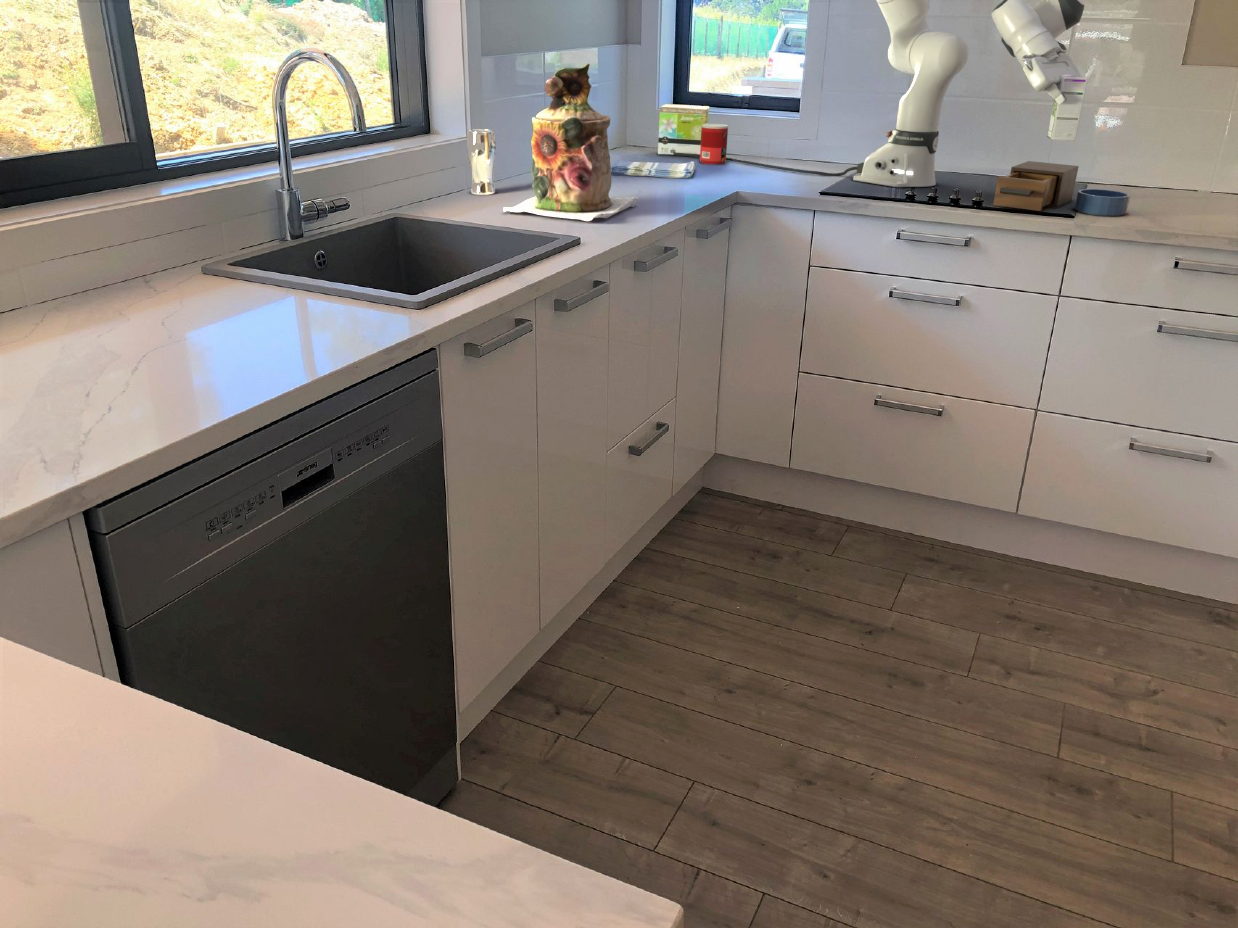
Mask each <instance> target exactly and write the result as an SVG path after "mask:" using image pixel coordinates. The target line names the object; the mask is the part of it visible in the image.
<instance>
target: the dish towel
mask: <svg viewBox="0 0 1238 928" xmlns="http://www.w3.org/2000/svg"><path fill="white" fill-rule="evenodd" d="M695 169H696V162H694V161H689V162H682V163H681V162H680V163H678V162H677V163H674V162H648V161H626V160H617V161H616V162H615V163H614V164H613V165H612V166H611V176H612V175H613V176H636V177H654V178H655V177H656V178H664V179H666V178H667V179H668V178H672V179H675V178H676V179H679V178H680V179H681V178H684V179H691V178H692V176H693V174H694V171H695Z"/></svg>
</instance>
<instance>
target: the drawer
mask: <svg viewBox="0 0 1238 928" xmlns="http://www.w3.org/2000/svg"><path fill="white" fill-rule="evenodd" d="M1057 181H1058V176H1054V175H1045V174H1035V173H1026V172H1015V173H1013V174H1010V173H1009V174H1008V175H1005V176H1003V175H999V176H997V181H996V186H995V192H994V197H993V199H994V200H993V203H992V205H993V206H997V207H1005V208H1014V209H1020V210H1022V209H1023V210H1029V211H1037V212H1042V211H1043V208H1044V206H1046V205H1048V204H1050V203H1052V202H1053V201H1054V196H1055V191H1056V186H1057Z"/></svg>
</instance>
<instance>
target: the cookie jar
mask: <svg viewBox="0 0 1238 928" xmlns="http://www.w3.org/2000/svg"><path fill="white" fill-rule="evenodd" d="M590 65H591V64H590V63H585V64H583V66H581V67H561V68H560V69H558V70H556V71H555V72H554V74H553V76H552V77H551V78H549V79H547V80H546V81H545V84H544V85H545V86H544V89H543V90H544V92H545V93H546V95H547V97H550V98H551V99H552V100H551V101H550V103H549V104H550V105H549V106H548V107H547V108H545V109H543V110H541V111H539V113H537V114H536V116H533V117H532V118H531V124H532V136H531V141H530V144H531V152H532V161H531V171H530V173H531V176H532V178H533V181H532V184H531V187H532V192H533V195H534V196H533V197H530V198H527V199H526V200H523V201H522V202H521V203H518V204H517V205H514V206H512V207H509V206H504V207H503V212H504V213H530V214H535V215H538V216H544V217H553V218H561V219H562V218H563V219H570V220H580V221H584V222H591V221H592V220H594V219H598V218H602V219H608V218H610V217H612V216H615V214H618V213H619V212H622V211H624V210H625V209H628V208H630V207H635V203H636V202H637V200H638V197H637V196H627V197H625V196H623V197H622V196H621V197H619V196H617V197H615V196H614V197H613V196H612V197H610V195H609V193H610V190H611V188H612V179H613V178H612V174H611V167H612V166H611V155H610V151H609V150H610V149H609V136H608V128H609V127H610V125H611V117H610V116H608V115H605V114H601V113H600V112H599V111H597V110H595V109H594V108H593V107H592V106H591V105H590V104H589V102H588V100H589V96H590V93H591V88H592V84H591V83H590V75H589V69H590Z"/></svg>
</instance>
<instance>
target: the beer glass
mask: <svg viewBox="0 0 1238 928" xmlns="http://www.w3.org/2000/svg"><path fill="white" fill-rule="evenodd" d="M495 132H496V131H495V130H494V129H490V128H489V129H487V128H473V129H472V128H471V129H468V130H467V157H468V162H469V167H470V171H471V189H470V190H471V191H470V192H471V194H472V195H478V196H487V195H488V196H489V195H494V194H496V187H495V182H494V181H495V180H494V172H495V165H496V157H497V156H496V155H497V141H496V133H495Z"/></svg>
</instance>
